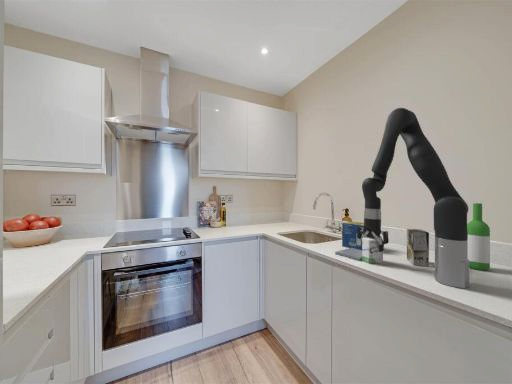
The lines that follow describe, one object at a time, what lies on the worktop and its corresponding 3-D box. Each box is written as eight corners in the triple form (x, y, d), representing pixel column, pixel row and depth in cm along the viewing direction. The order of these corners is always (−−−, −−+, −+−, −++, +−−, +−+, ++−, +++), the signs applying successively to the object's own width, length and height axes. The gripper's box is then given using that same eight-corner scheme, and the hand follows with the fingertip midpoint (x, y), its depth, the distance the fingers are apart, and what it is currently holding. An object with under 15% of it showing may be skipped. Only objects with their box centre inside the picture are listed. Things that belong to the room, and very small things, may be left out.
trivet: (375, 255, 112) (375, 253, 112) (359, 261, 104) (359, 258, 104) (351, 249, 124) (351, 247, 124) (335, 254, 115) (335, 251, 115)
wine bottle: (488, 272, 89) (488, 204, 89) (463, 267, 96) (463, 203, 96) (491, 269, 94) (491, 203, 94) (467, 264, 100) (467, 202, 100)
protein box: (349, 243, 139) (349, 220, 139) (373, 248, 127) (374, 223, 127) (341, 246, 132) (341, 222, 132) (366, 251, 120) (366, 225, 120)
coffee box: (429, 266, 96) (429, 232, 96) (413, 265, 98) (413, 231, 98) (421, 260, 105) (421, 229, 105) (406, 259, 107) (406, 228, 107)
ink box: (369, 263, 100) (369, 239, 100) (361, 260, 104) (361, 237, 104) (383, 262, 102) (383, 238, 102) (375, 259, 106) (375, 236, 106)
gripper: (391, 218, 99) (390, 252, 99) (362, 215, 111) (362, 245, 111) (384, 219, 95) (383, 254, 95) (354, 216, 107) (354, 247, 107)
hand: (371, 249), depth 103 cm, fingers open, 8 cm apart
